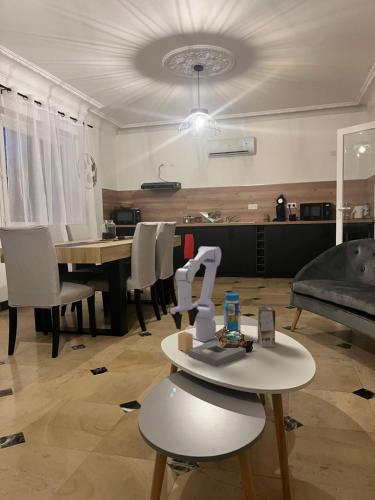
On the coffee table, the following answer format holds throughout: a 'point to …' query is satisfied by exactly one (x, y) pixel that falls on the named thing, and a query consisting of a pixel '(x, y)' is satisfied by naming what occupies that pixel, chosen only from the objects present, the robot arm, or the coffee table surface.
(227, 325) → the beverage bottle
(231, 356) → the socket plate
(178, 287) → the robot arm
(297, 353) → the coffee table surface
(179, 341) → the plug
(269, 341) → the coffee box
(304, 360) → the coffee table surface
